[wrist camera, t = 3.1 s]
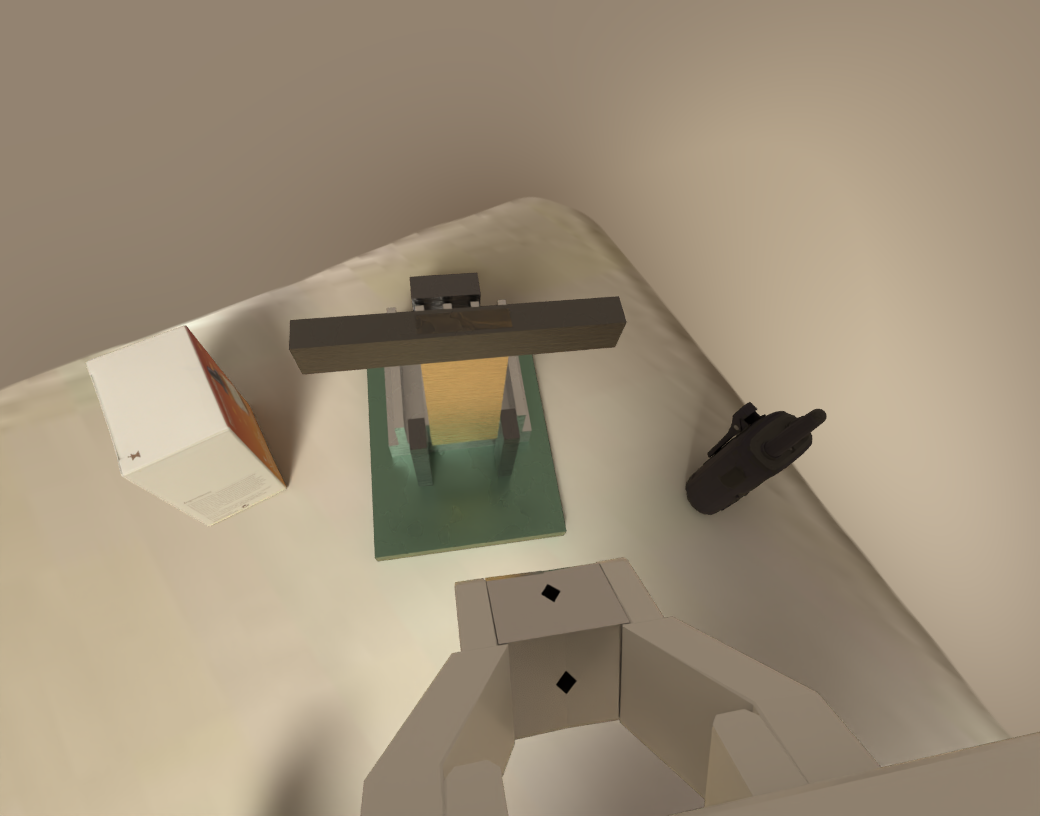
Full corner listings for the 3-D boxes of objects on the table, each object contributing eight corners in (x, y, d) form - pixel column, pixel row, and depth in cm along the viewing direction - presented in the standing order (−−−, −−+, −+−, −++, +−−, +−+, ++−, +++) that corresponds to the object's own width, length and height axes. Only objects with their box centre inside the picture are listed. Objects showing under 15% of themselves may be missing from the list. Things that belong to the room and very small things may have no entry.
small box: (289, 490, 38) (232, 430, 29) (208, 529, 37) (119, 479, 27) (250, 402, 41) (186, 320, 32) (172, 434, 39) (81, 359, 30)
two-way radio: (702, 526, 40) (822, 451, 26) (661, 479, 41) (757, 385, 28) (751, 485, 42) (888, 396, 28) (711, 441, 43) (823, 336, 30)
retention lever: (575, 432, 34) (626, 322, 23) (347, 457, 32) (289, 349, 21) (571, 412, 35) (618, 296, 24) (347, 436, 33) (289, 320, 22)
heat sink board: (563, 535, 39) (586, 502, 31) (377, 561, 37) (355, 533, 29) (521, 317, 47) (532, 251, 39) (367, 329, 45) (348, 261, 37)
